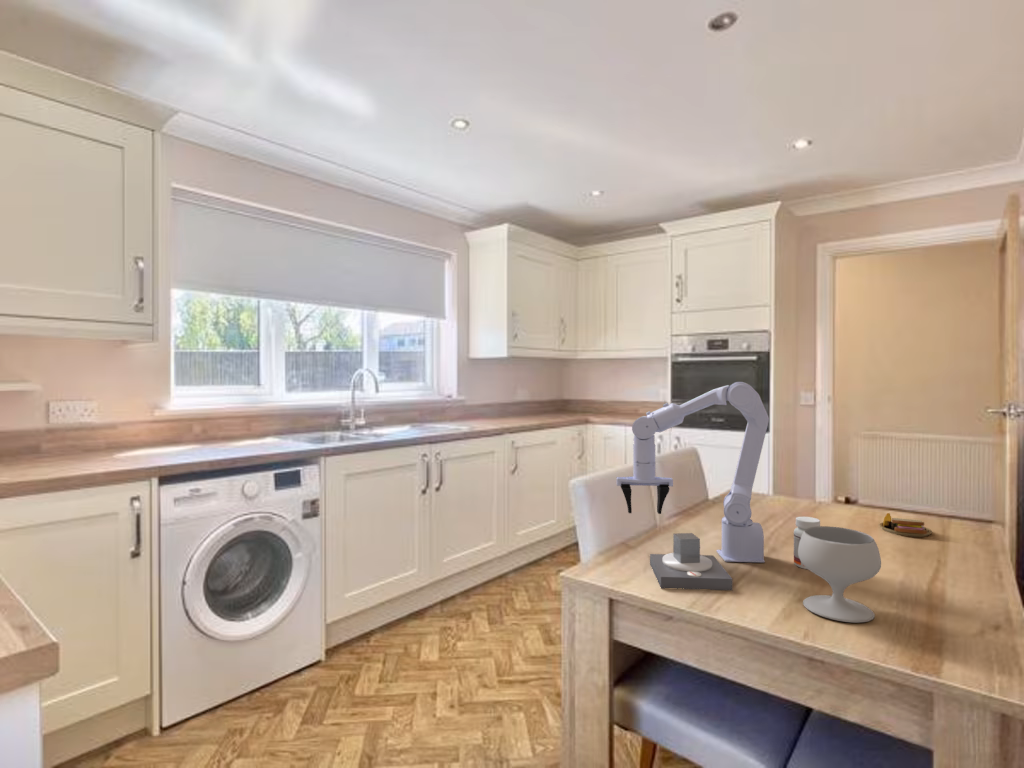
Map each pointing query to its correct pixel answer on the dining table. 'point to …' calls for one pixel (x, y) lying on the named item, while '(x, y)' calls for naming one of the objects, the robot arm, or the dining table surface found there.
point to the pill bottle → (802, 526)
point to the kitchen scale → (690, 573)
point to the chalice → (839, 569)
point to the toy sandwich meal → (904, 527)
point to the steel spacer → (686, 548)
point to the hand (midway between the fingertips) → (644, 512)
